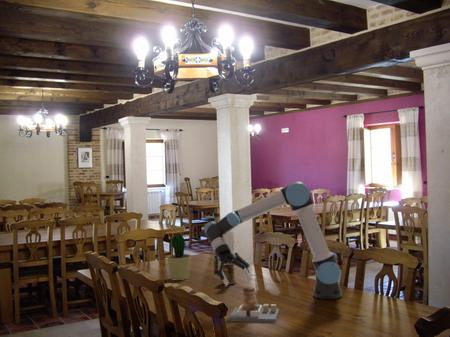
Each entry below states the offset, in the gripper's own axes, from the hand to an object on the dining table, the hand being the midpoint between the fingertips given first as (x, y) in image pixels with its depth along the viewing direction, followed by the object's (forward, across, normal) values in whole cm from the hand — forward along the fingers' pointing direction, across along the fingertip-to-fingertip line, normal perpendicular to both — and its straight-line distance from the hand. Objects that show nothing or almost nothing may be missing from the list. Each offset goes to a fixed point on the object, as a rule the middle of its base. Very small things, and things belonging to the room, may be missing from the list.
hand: (238, 282), depth 238 cm
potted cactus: (-49, -11, -71) cm, 87 cm away
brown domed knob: (+15, 0, -4) cm, 16 cm away
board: (+17, -2, -4) cm, 18 cm away
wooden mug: (-24, -27, -46) cm, 59 cm away
